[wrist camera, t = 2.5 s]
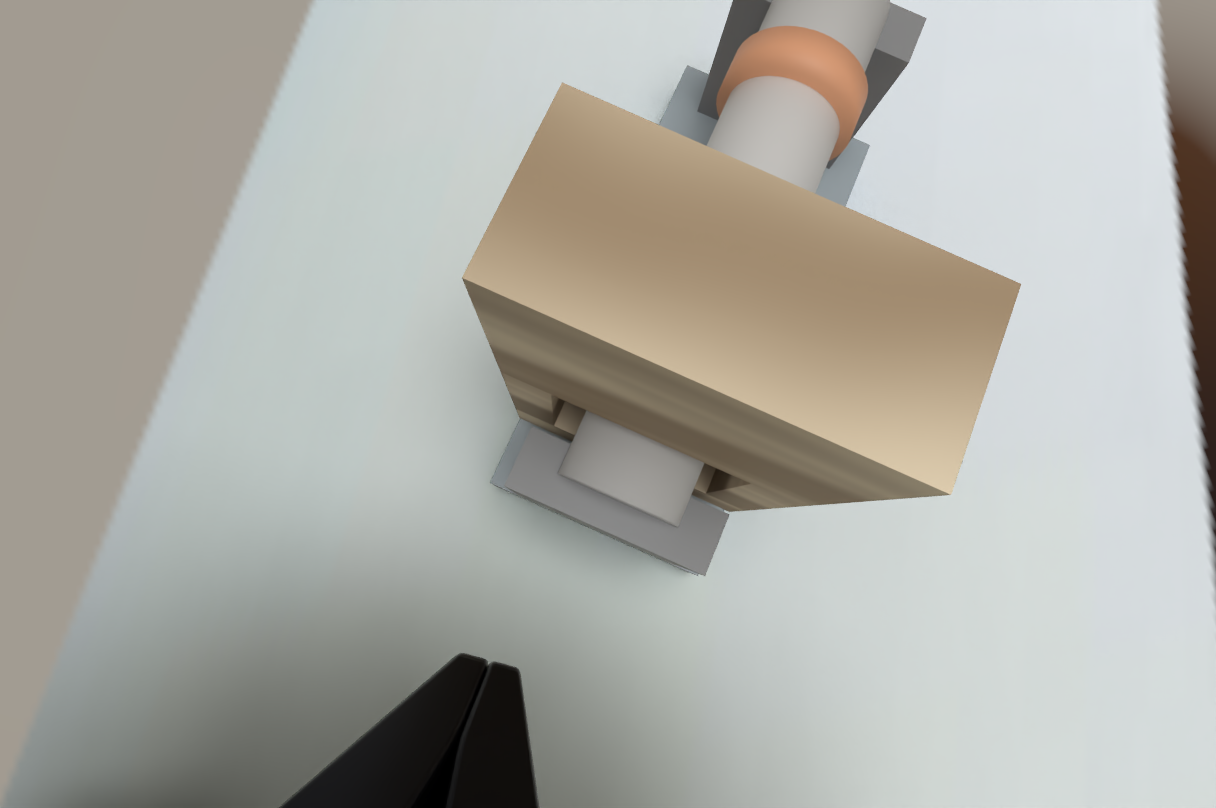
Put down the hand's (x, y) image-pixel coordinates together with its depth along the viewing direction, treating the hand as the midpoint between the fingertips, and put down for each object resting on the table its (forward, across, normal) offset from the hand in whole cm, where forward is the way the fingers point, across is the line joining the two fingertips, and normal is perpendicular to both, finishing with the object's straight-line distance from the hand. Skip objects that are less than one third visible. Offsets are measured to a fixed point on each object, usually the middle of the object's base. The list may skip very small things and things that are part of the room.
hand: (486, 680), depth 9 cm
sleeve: (+11, +2, -2) cm, 12 cm away
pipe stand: (+17, +2, -1) cm, 17 cm away
